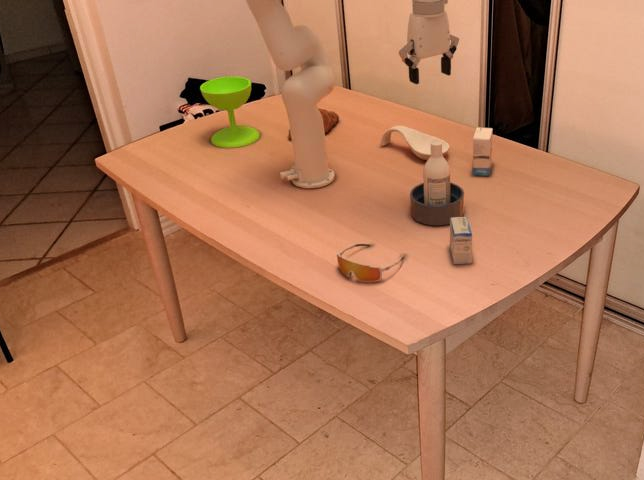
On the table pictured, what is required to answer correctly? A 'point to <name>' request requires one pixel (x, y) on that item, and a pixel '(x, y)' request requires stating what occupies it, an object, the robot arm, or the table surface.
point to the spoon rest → (415, 141)
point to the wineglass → (230, 109)
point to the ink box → (482, 151)
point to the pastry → (326, 120)
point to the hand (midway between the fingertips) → (430, 78)
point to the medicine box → (460, 240)
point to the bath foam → (436, 177)
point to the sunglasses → (361, 267)
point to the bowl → (436, 213)
